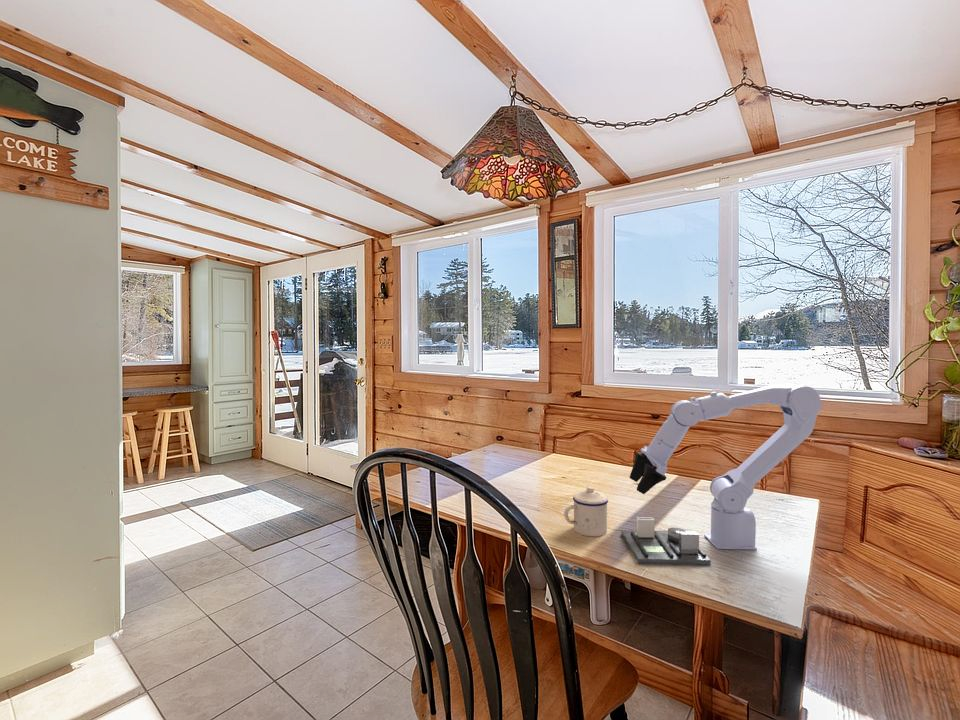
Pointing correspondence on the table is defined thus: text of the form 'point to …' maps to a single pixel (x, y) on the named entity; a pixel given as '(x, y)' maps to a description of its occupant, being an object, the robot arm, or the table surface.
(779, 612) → the table surface
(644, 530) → the fader
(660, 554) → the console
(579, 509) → the teacup with lid
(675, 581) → the table surface
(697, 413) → the robot arm
